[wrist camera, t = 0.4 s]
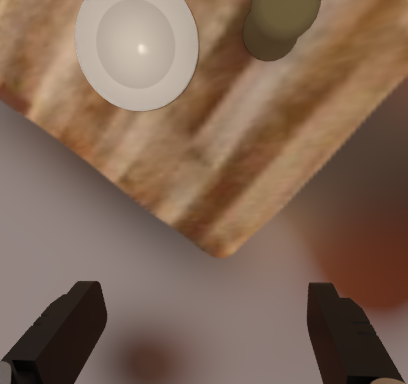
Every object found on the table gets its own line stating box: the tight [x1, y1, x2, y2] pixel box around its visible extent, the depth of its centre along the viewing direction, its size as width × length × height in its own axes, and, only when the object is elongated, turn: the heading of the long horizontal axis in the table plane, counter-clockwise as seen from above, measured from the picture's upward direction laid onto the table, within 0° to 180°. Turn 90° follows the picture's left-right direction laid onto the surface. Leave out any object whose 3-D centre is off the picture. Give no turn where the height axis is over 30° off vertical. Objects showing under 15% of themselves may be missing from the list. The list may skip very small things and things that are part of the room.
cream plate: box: [75, 0, 199, 111], centre depth 32 cm, size 14×14×1 cm
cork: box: [243, 0, 321, 61], centre depth 26 cm, size 6×6×11 cm
